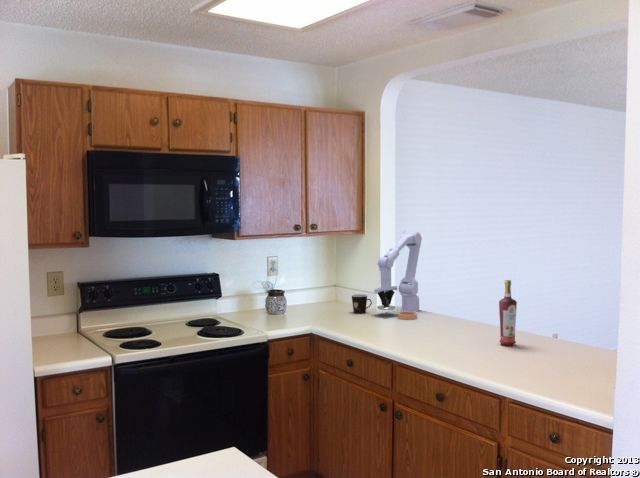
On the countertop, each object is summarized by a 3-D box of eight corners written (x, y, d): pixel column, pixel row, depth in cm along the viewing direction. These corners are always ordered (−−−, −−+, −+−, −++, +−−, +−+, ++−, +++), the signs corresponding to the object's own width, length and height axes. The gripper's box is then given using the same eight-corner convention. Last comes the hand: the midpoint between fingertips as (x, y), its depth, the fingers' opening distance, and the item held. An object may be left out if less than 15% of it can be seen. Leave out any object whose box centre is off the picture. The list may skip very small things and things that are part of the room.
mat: (387, 313, 343) (387, 312, 343) (402, 316, 334) (402, 315, 334) (370, 316, 337) (370, 315, 336) (385, 319, 327) (385, 318, 327)
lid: (387, 306, 341) (387, 296, 341) (399, 308, 334) (399, 298, 333) (373, 307, 336) (373, 298, 336) (385, 310, 328) (385, 300, 328)
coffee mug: (349, 313, 346) (348, 295, 346) (362, 311, 350) (362, 293, 349) (359, 316, 336) (358, 298, 335) (373, 315, 340) (372, 296, 339)
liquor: (504, 347, 266) (505, 282, 264) (495, 343, 273) (495, 279, 271) (519, 346, 268) (520, 281, 266) (510, 342, 275) (510, 278, 273)
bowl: (407, 316, 335) (407, 310, 334) (420, 319, 326) (420, 313, 326) (393, 318, 329) (393, 313, 329) (406, 321, 321) (406, 316, 320)
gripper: (391, 277, 341) (391, 302, 342) (370, 280, 333) (370, 305, 334) (399, 278, 335) (400, 303, 336) (379, 281, 327) (379, 307, 328)
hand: (386, 304), depth 335 cm, fingers closed on lid, 3 cm apart
